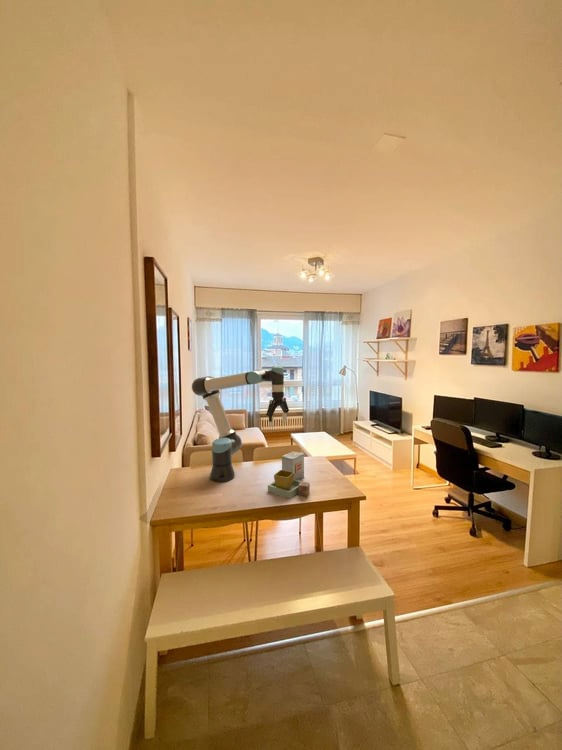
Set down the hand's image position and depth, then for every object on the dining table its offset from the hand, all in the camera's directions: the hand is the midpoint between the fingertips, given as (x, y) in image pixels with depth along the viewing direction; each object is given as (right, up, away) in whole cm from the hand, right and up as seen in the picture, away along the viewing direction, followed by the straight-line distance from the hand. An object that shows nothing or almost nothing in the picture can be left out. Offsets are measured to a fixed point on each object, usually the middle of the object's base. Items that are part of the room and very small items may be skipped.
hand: (278, 424), depth 193 cm
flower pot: (+4, -32, -23) cm, 40 cm away
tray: (+5, -33, -22) cm, 40 cm away
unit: (+9, -32, -6) cm, 34 cm away
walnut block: (+14, -34, -27) cm, 46 cm away
